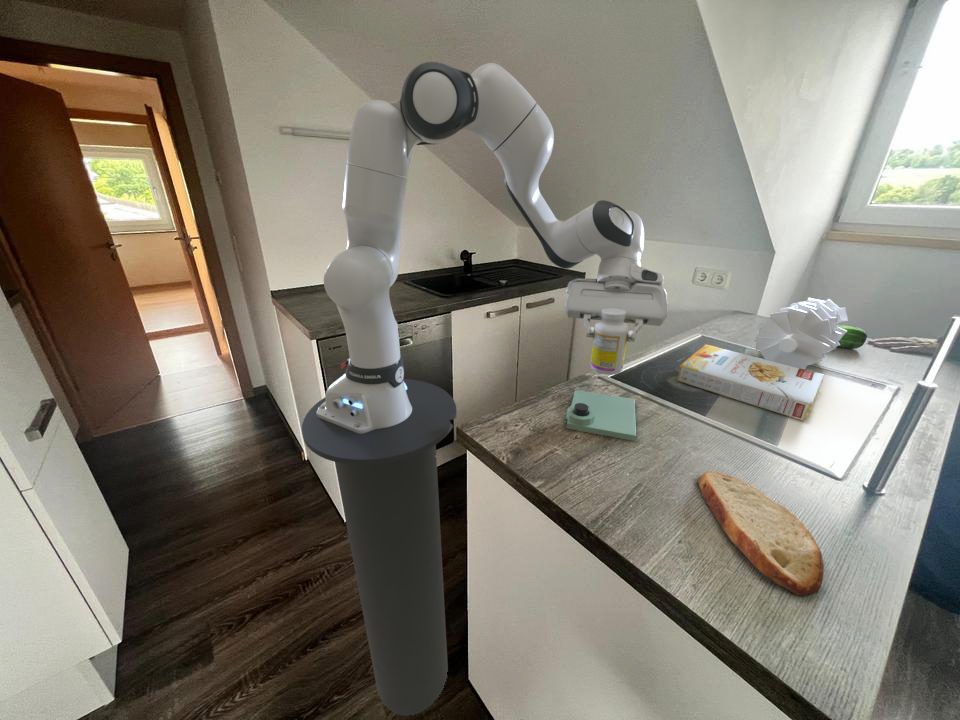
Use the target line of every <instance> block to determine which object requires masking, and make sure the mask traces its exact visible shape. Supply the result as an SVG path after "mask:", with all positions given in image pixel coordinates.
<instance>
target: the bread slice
mask: <svg viewBox="0 0 960 720" xmlns="http://www.w3.org/2000/svg"><path fill="white" fill-rule="evenodd" d="M697 485H698V486H699V490H700V492H701V495H702V497H703V498H704V500H705V502H706V504H707V505H708V506H709V508H710V510H711V512H712V513H713V516H714V517H715V519H716V520H717V522H718V524H719V525H720V527H721V528H722V530H723V531H724V533H726V535H727V537H728V538H729V540H730V541H731V543H733V544H734V546H735V547H737V549H739V550H740V552H741V553H742V554H743V555H744V556H745V557H746V559H747V560H748V561H749V562H750V563H751V564H752V565H753V567H755V568H756V569H757V570H758V571H759V572H760V573H761V574H763V575H764V576H766V578H768V579H769V580H770V581H772V582H773V583H775V584H776V585H778V586H780V587H782V588H785V589H786V590H788V591H790V592H791V593H793V594H794V595H796V596H801V597H802V596H807V595H809V594H813V593H815V592H818V591H819V590H820V588H821V587H822V584H823V579H824V570H825V569H824V568H825V565H824V564H825V563H824V558H823V553H822V551H821V549H820V547H819V545H818V543H817V541H816V539H815V538H814V537H813V535H812V533H811V531H810V530H809V529H808V528H807V527H806V526H805V524H804V523H803V522H801V521H800V520H799V519H798V518H797V517H796V516H795V514H794V513H792V512H791V511H790V510H788V509H787V508H786V507H785V506H783V505H781V504H780V503H777V502H776V501H774V500H773V499H772V498H770V497H769V496H767V494H765V493H764V492H762V491H760V490H759V489H757V488H756V487H755V486H752V485H751V484H749V483H746V482H745V481H742V480H740V479H739V478H737V477H733V476H731V475H730V474H729V475H728V474H725V473H721V472H716V471H706V472H705V473H703V475H701V476H700V477H699V478H698V479H697Z"/></svg>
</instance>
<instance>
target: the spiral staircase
mask: <svg viewBox="0 0 960 720" xmlns="http://www.w3.org/2000/svg"><path fill="white" fill-rule="evenodd" d="M789 304H790V305H789V306H788V307H780V308H779V312H772V313H771V312H770V313H769V314H770V315H769V318H767V319H766V320H764V321H763V322H761V323H760V324H759V325H757V327H758V328H759V330H758V332H757V334H756V337H755V339H754V342H755V350H756V351H759V352H760V354H761V355H762V357H763V359H765V360H769V361H773V362H777V363H781V364H785V365H788V366H792V367H796V368H800V369H804V370H807V369H806V368H807V367H808V366H811V365H814V364H817V363H820V362H822V361H823V360H822V359H824V358H827V355H826V353H828V352H831V351H833V350H836V349H837V347H836V346H839V345H840V344H839V342H838V341H839V340H840V339H841V338H842V336H843V335H844V334H845V333H846V332H847V331H846V330H844V329H841V328H839V327H838V326H839V325H840V324H843V322H848V321H849V318H848V317H849V316H848V313H847V309H846V307H839V305H837V304H836V303H835V302H833V300H831V299H830V298H828V299H826V300H821V299H816V298H812V297H808V298H807V300H804V301H798V302H793V303H789Z"/></svg>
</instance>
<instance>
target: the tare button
mask: <svg viewBox="0 0 960 720" xmlns="http://www.w3.org/2000/svg"><path fill="white" fill-rule="evenodd" d="M588 409H589V407H588V405H586V404H583V403H577V404H575V406H574V414H575V415H577V416H587V415H588Z"/></svg>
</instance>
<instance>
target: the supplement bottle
mask: <svg viewBox="0 0 960 720" xmlns="http://www.w3.org/2000/svg"><path fill="white" fill-rule="evenodd" d="M625 317H626V311H624V310H622V309H617V308H605V309H602V311H601V318H602V320H598V321H597V322H596V323H595V324H594V327H595V328H594V338H592V346H591V355H590V368H591V370H592V371H594V372H595V373H597V374H601V375H607V376H611V375H617V374H620V373H622V371H623V369H624V364H625V359H626V350H627V344H628V341H627V337H628V332H629V331H630V328H629V326H628V323H624V319H625Z"/></svg>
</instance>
